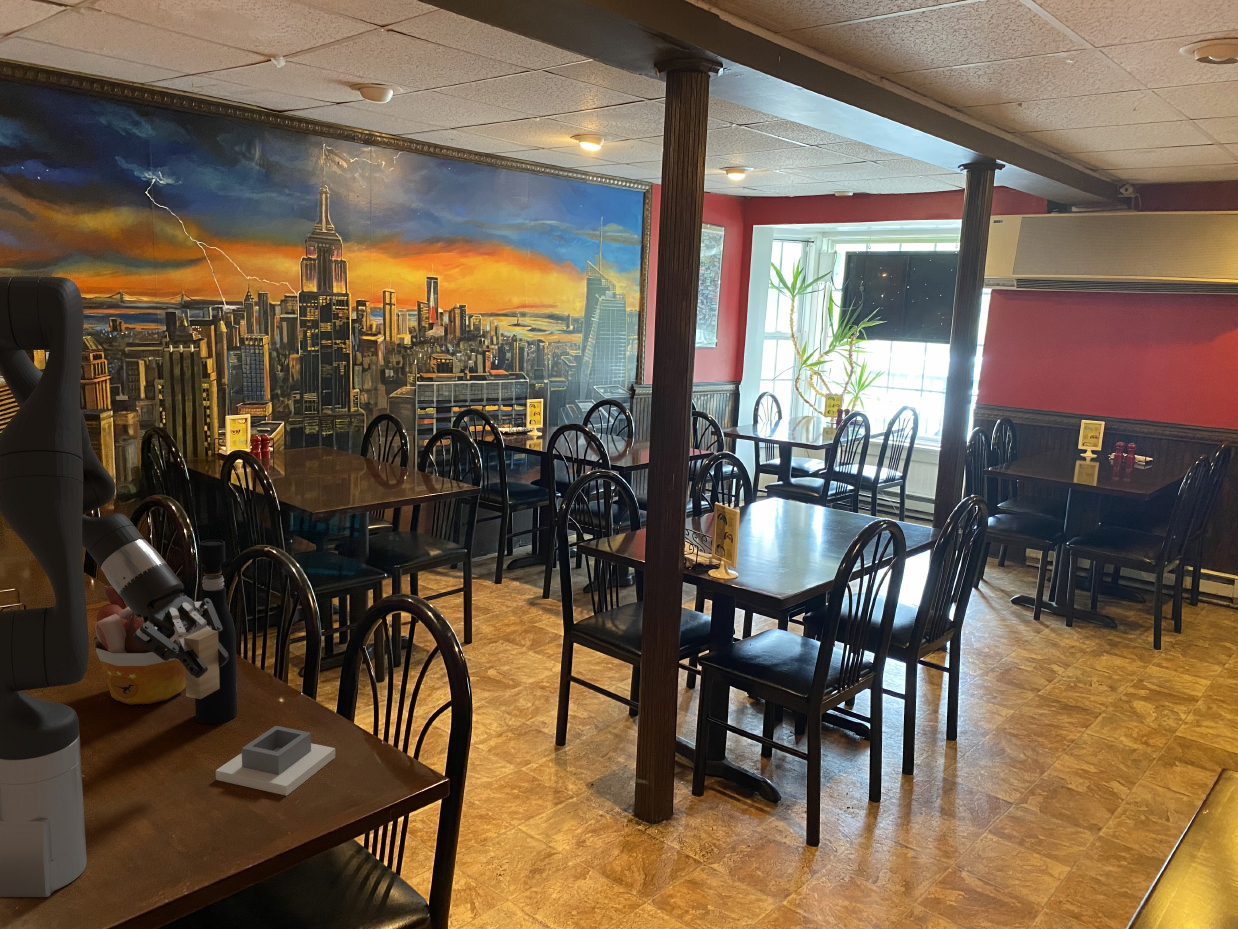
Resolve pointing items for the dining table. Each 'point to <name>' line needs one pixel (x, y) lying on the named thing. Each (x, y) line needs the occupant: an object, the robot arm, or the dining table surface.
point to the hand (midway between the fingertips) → (213, 668)
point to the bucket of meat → (133, 658)
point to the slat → (208, 652)
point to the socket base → (276, 761)
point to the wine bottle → (223, 700)
